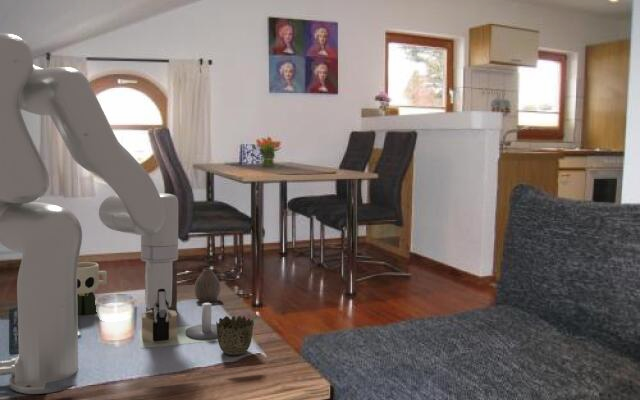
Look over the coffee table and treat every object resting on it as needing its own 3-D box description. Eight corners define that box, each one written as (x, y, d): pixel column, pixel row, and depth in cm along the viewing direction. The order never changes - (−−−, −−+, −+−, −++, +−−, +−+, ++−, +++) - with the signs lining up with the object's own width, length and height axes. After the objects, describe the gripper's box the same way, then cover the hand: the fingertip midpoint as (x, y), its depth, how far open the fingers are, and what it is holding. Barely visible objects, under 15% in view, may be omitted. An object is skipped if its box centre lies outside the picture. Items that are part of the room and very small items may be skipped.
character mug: (57, 324, 129) (57, 269, 127) (59, 315, 135) (58, 263, 134) (107, 319, 133) (107, 266, 132) (106, 311, 139) (106, 260, 138)
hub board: (141, 355, 112) (141, 316, 111) (138, 336, 122) (138, 301, 121) (231, 346, 118) (232, 309, 117) (222, 329, 128) (222, 296, 128)
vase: (193, 298, 154) (193, 267, 153) (218, 296, 156) (218, 266, 155) (195, 305, 147) (195, 272, 146) (221, 303, 149) (222, 271, 148)
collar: (143, 344, 114) (143, 320, 113) (141, 333, 120) (141, 310, 120) (178, 341, 116) (178, 317, 116) (174, 330, 123) (174, 308, 122)
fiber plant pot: (245, 368, 107) (246, 328, 106) (209, 364, 108) (210, 325, 107) (257, 354, 114) (258, 317, 113) (224, 351, 115) (224, 313, 114)
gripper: (139, 245, 123) (139, 323, 125) (143, 261, 107) (143, 350, 109) (173, 244, 126) (173, 320, 127) (182, 259, 109) (182, 346, 111)
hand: (159, 333), depth 118 cm, fingers closed on collar, 7 cm apart
